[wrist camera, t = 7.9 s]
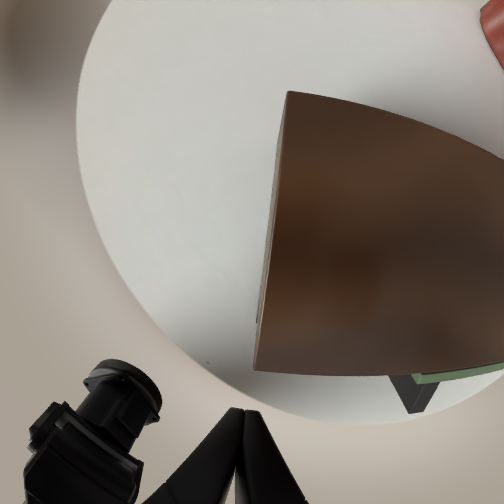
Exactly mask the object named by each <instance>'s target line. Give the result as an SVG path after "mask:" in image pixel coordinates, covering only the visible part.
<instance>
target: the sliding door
mask: <svg viewBox="0 0 504 504" xmlns="http://www.w3.org/2000/svg"><path fill="white" fill-rule="evenodd" d="M502 369H504V361H500V362H496V363H491V364H486V365H480V366H475V367H469V368H462V369H455V370H448V371H440V372H431V373H429V372H428V373H417V374H403V375H388V376H389V378H390V380H391V382H392V384H393V385H394V387H395V389H396V391H397V393H398V395H399V397H400V398H401V400H402V402H403V404H404V406H405V408H406V410H407V412H408V414H412V413H418V412H423V411H424V410H425V408H426V406H427V405H428V403H429V401H430V399H431V398H432V396H433V394H434V392H435V391H436V389H437V387H438V385H439V383H440V382H441V381H448V380H454V379H460V378H466V377H471V376H476V375H481V374H485V373H490V372H494V371H498V370H502Z"/></svg>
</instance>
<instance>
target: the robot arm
mask: <svg viewBox="0 0 504 504" xmlns="http://www.w3.org/2000/svg"><path fill="white" fill-rule="evenodd" d="M83 383H84V385H85V386H86V388H87V389H88V390H89V392H90V393H89V395H88V396H87V397H86V398H85V400H84V401H83V402H82V403H81V405H80V406H79V407H78V409H77V410H76V411H74V410H73V409H72V408H71V407H70V406H69V404H68V403H67V402H66V401H64V402H63V404H62V405H61V404H58V403H56V402H53V403H52V404H51V405H50V406H49V407H48V409H47V410H46V411H45V412H44V413H43V414H42V415H41V416H40V417H39V418H38V419H37V420H36V421H35V423H34V424H33V425H32V426H31V427H30V428H29V432H30V437H31V438H30V440H29V441H30V442H31V443H30V444H29V445H28V447H27V449H29V450H30V451H31V452H32V453H33V455H32V457H31V458H30V459H29V461H28V462H27V464H26V466H25V468H24V473H23V474H24V489H25V498H26V500H25V501H24V503H23V504H134V503H135V501H136V499H137V496H138V493H139V488H140V481H141V477H142V471H143V466H144V463H143V462H142V461H140V460H137V459H136V458H134V457H133V456H131V455H130V454H128V453H129V452H130V450H131V448H132V446H133V443H134V442H135V440H136V438H138V437H139V435H140V433H141V431H142V429H143V427H144V425H145V423H154V422H158V421H159V419H160V417H159V415H158V414H157V413H156V412H155V410H154V409H153V408H152V407H151V406H150V404H149V403H148V402H147V401H146V399H145V398H144V397H143V395H142V394H141V393H140V392H139V390H138V389H137V388H136V386H135V385H134V384H133V382H132V381H131V380H130V378H129V377H128V375H127V374H126V373H125V372H122V371H120V372H115V373H111V374H106V375H101V376H96V377H91V378H86V379H85V380H84V381H83ZM59 427H60V428H61V429H60V428H59ZM235 468H236V469H235ZM234 472H235V504H309V503H308V502H307V500H305V497H304V495H303V493H302V491H301V490H300V488H299V486H298V484H297V483H296V481H295V479H294V477H293V475H292V474H291V472H290V470H289V468H288V466H287V464H286V463H285V461H284V459H283V457H282V455H281V453H280V451H279V449H278V447H277V445H276V443H275V441H274V440H273V438H272V436H271V434H270V432H269V430H268V428H267V426H266V424H265V422H264V420H263V418H262V416H261V414H260V412H259V411H254V410H245V412H244V410H243V409H239V408H233V407H232V408H230V409H229V410H228V411H227V412H226V414H225V415H224V416H223V417H222V418H221V420H220V421H219V422H218V423H217V424H216V426H215V427H214V428H213V429H212V430H211V431H210V433H209V434H208V435H207V436H206V437H205V438H204V440H203V441H202V442H201V443H200V444H199V446H198V447H197V448H196V449H195V450H194V451H193V452H192V453H191V454H190V456H189V457H188V458H187V459H186V460H185V461H184V462H183V463H182V464H181V465H180V467H179V468H178V469H177V470H176V471H175V472H174V473H173V474H172V475H171V476H170V477H169V479H167V480H166V483H163V484H162V485H161V486H160V487H159V488H158V489H157V490H156V491H155V492H154V493H153V494H152V495H151V496H150V497H149V498H148V499H147V500H145V501H144V502H143V503H142V504H225V501H226V498H227V495H228V492H229V489H230V486H231V483H232V480H233V476H234Z"/></svg>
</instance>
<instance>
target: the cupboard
mask: <svg viewBox="0 0 504 504" xmlns="http://www.w3.org/2000/svg"><path fill="white" fill-rule="evenodd" d="M256 323H257V330H256V341H255V351H254V362H253V369H254V370H256V371H265V372H276V373H288V374H302V375H323V376H383V375H403V374H417V373H428V372H429V373H431V372H440V371H448V370H455V369H462V368H469V367H475V366H480V365H486V364H491V363H496V362H500V361H504V160H503V159H501V158H499V157H497V156H496V155H494V154H492V153H490V152H488V151H486V150H484V149H482V148H480V147H478V146H476V145H474V144H472V143H470V142H468V141H466V140H463V139H461V138H459V137H457V136H454V135H452V134H450V133H447V132H445V131H442V130H440V129H438V128H435V127H432V126H430V125H427V124H424V123H422V122H419V121H416V120H413V119H410V118H407V117H404V116H401V115H398V114H395V113H391V112H388V111H385V110H381V109H378V108H374V107H370V106H366V105H362V104H358V103H354V102H350V101H345V100H341V99H336V98H331V97H326V96H320V95H315V94H309V93H302V92H295V91H287V94H286V99H285V104H284V110H283V115H282V120H281V126H280V131H279V136H278V144H277V153H276V162H275V171H274V179H273V188H272V197H271V205H270V214H269V222H268V231H267V239H266V247H265V255H264V263H263V271H262V279H261V287H260V295H259V303H258V310H257V318H256Z"/></svg>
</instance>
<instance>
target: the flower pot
mask: <svg viewBox="0 0 504 504" xmlns="http://www.w3.org/2000/svg"><path fill="white" fill-rule="evenodd" d="M480 12H481V18H480V22H481V26H482V29H483V31H484V34H485V36H486V38H487V40H488V42H489V44H490V46H491V48H492V50H493V52H494V53H495V55H496V57H497V58H498V60H499V62H500V63H501V65H502V67H503V68H504V0H490V1H488V2H487V3H486V4H485V5H484V6H483V7H482V8H481V9H480Z"/></svg>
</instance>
